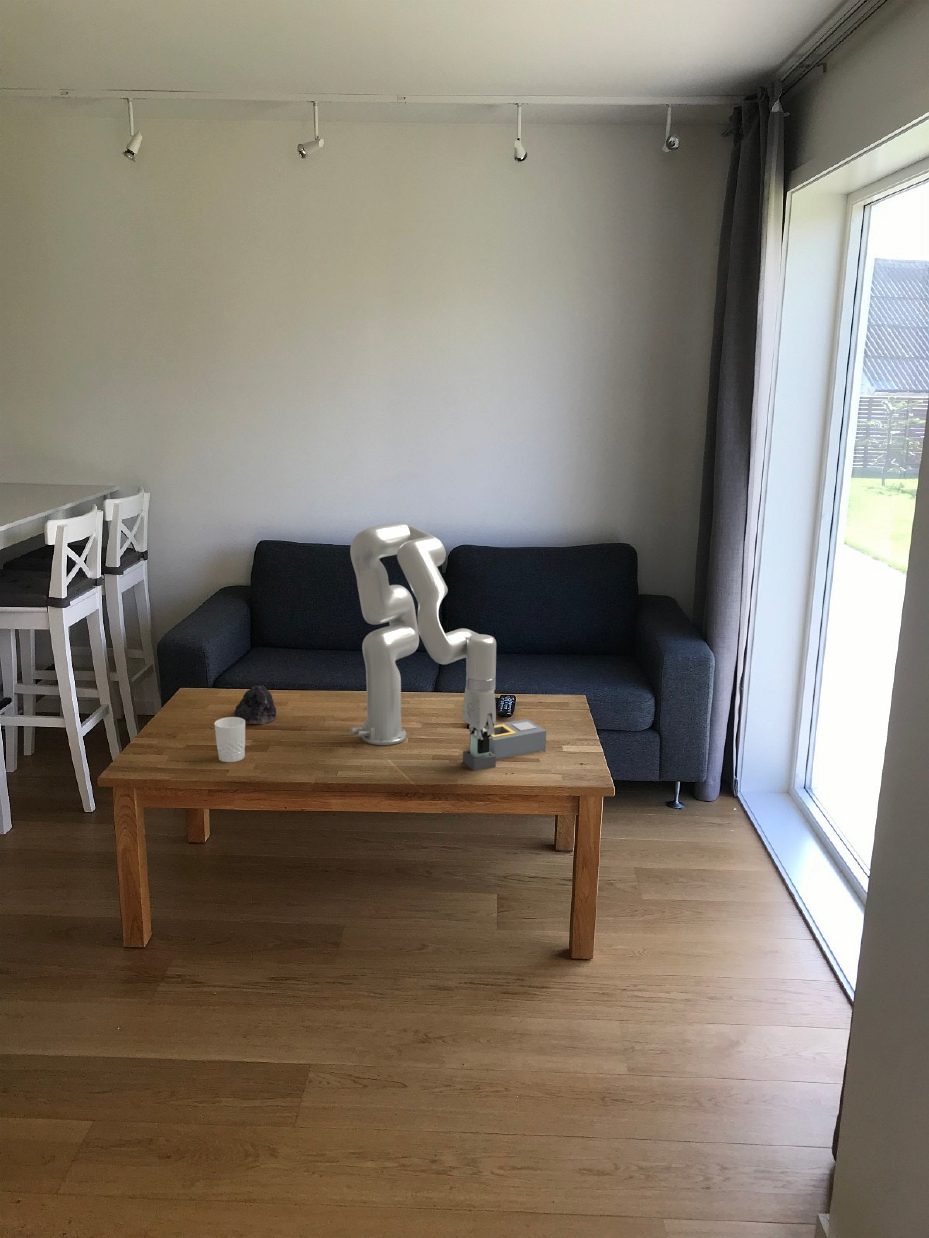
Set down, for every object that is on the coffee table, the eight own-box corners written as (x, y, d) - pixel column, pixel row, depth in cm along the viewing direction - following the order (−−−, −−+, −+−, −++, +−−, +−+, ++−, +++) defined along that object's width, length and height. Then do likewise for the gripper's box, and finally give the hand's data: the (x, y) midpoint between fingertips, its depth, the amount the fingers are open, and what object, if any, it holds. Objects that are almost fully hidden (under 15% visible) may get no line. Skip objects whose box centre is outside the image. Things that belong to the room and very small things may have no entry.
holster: (473, 772, 238) (474, 760, 237) (462, 763, 244) (462, 751, 243) (495, 768, 241) (496, 755, 240) (484, 759, 247) (484, 747, 246)
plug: (476, 767, 240) (476, 733, 238) (469, 762, 243) (470, 728, 241) (488, 765, 242) (489, 731, 239) (482, 760, 245) (482, 726, 242)
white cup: (231, 765, 240) (229, 729, 238) (210, 759, 245) (207, 723, 242) (253, 755, 247) (251, 720, 244) (231, 749, 251) (230, 714, 248)
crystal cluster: (250, 732, 266) (252, 699, 263) (222, 717, 274) (224, 685, 271) (286, 723, 276) (289, 691, 273) (258, 708, 284) (260, 678, 281)
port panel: (494, 761, 246) (494, 739, 244) (476, 748, 254) (476, 726, 253) (545, 751, 253) (546, 729, 251) (526, 738, 261) (527, 717, 260)
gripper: (453, 675, 242) (452, 741, 247) (483, 694, 228) (481, 763, 233) (478, 672, 246) (477, 736, 250) (509, 690, 231) (507, 758, 236)
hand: (479, 749), depth 241 cm, fingers closed on plug, 3 cm apart
